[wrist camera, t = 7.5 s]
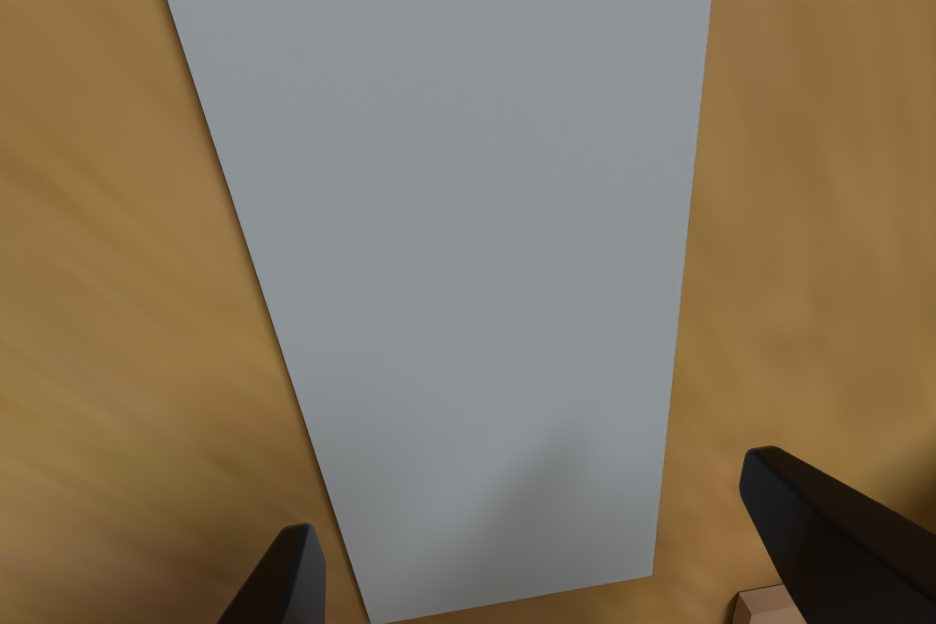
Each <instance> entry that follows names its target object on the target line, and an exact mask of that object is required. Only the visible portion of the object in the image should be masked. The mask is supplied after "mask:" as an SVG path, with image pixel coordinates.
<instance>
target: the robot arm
mask: <svg viewBox="0 0 936 624" xmlns="http://www.w3.org/2000/svg"><path fill="white" fill-rule="evenodd" d="M739 491H740V495H741V498H742V500H743V503H744V505H745V507H746V509H747V511H748V513H749V515H750V517H751V519H752V521H753V523H754V525H755V527H756V529H757V531H758V533H759V535H760V537H761V539H762V542H763V544H764V546H765V548H766V550H767V552H768V554H769V556H770V558H771V560H772V562H773V564H774V566H775V568H776V570H777V572H778V574H779V576H780V578H781V580H782V582H783V584H784V586H785V588H786V590H787V592H788V593H789V595H790V597H791V598H792V600H793V602H794V603H795V605H796V607H797V608H798V610H799V612H800V613H801V615H802V617H803V618H804V620H805V621H806V623H807V624H936V534H935V533H933V532H932V531H930V530H928V529H926V528H924V527H923V526H921V525H919V524H917V523H915V522H913V521H912V520H910V519H908V518H906V517H904V516H902V515H901V514H899V513H897V512H895V511H893V510H892V509H890V508H888V507H886V506H884V505H882V504H881V503H879V502H877V501H875V500H873V499H872V498H870V497H868V496H866V495H864V494H862V493H861V492H859V491H857V490H855V489H853V488H851V487H850V486H848V485H846V484H844V483H842V482H841V481H839V480H837V479H835V478H833V477H831V476H830V475H828V474H826V473H824V472H822V471H820V470H819V469H817V468H815V467H813V466H811V465H810V464H808V463H806V462H804V461H802V460H800V459H799V458H797V457H795V456H793V455H791V454H789V453H788V452H786V451H784V450H782V449H780V448H778V447H776V446H763V447H757V448H752V449H749V450H748V451H747V452H746V454H745V458H744V463H743V468H742V472H741V477H740V482H739ZM325 588H326V564H325V558H324V554H323V551H322V549H321V546H320V543H319V540H318V538H317V535H316V532H315V529H314V527H313V526H312V524H310V523H302V524H296V525H290V526H286V527H284V528H283V529H282V530H281V531H280V533H279V534H278V535H277V537H276V538H275V540H274V541H273V543H272V544H271V545H270V547H269V548H268V550H267V551H266V553H265V554H264V555H263V557H262V558H261V560H260V561H259V563H258V564H257V565H256V567H255V568H254V570H253V571H252V573H251V574H250V575H249V577H248V578H247V580H246V581H245V583H244V584H243V585H242V587H241V588H240V590H239V591H238V593H237V594H236V595H235V597H234V598H233V600H232V601H231V603H230V604H229V605H228V607H227V608H226V610H225V611H224V613H223V614H222V615H221V617H220V618H219V620H218V621H217V623H216V624H325Z"/></svg>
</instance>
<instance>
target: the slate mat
mask: <svg viewBox="0 0 936 624" xmlns="http://www.w3.org/2000/svg"><path fill="white" fill-rule="evenodd" d="M167 1H168V4H169V7H170V10H171V13H172V16H173V19H174V22H175V25H176V28H177V31H178V34H179V37H180V40H181V43H182V46H183V50H184V53H185V56H186V59H187V62H188V65H189V68H190V71H191V74H192V77H193V80H194V83H195V86H196V89H197V92H198V95H199V99H200V102H201V105H202V108H203V111H204V114H205V117H206V120H207V123H208V126H209V129H210V132H211V135H212V138H213V141H214V144H215V148H216V151H217V154H218V157H219V160H220V163H221V166H222V169H223V172H224V175H225V178H226V181H227V184H228V187H229V190H230V193H231V197H232V200H233V203H234V206H235V209H236V212H237V215H238V218H239V221H240V224H241V227H242V230H243V233H244V236H245V239H246V242H247V246H248V249H249V252H250V255H251V258H252V261H253V264H254V267H255V270H256V273H257V276H258V279H259V282H260V285H261V288H262V291H263V294H264V298H265V301H266V304H267V307H268V310H269V313H270V316H271V319H272V322H273V325H274V328H275V331H276V334H277V337H278V340H279V343H280V347H281V350H282V353H283V356H284V359H285V362H286V365H287V368H288V371H289V374H290V377H291V380H292V383H293V386H294V389H295V392H296V396H297V399H298V402H299V405H300V408H301V411H302V414H303V417H304V420H305V423H306V426H307V429H308V432H309V435H310V438H311V441H312V445H313V448H314V451H315V454H316V457H317V460H318V463H319V466H320V469H321V472H322V475H323V478H324V481H325V484H326V487H327V490H328V493H329V497H330V500H331V503H332V506H333V509H334V512H335V515H336V518H337V521H338V524H339V527H340V530H341V533H342V536H343V539H344V542H345V546H346V549H347V552H348V555H349V558H350V561H351V564H352V567H353V570H354V573H355V576H356V579H357V582H358V585H359V588H360V591H361V595H362V598H363V601H364V604H365V607H366V610H367V613H368V616H369V619H370V622H371V624H386V623H391V622H397V621H402V620H408V619H413V618H419V617H425V616H430V615H436V614H441V613H447V612H453V611H458V610H464V609H469V608H475V607H480V606H486V605H492V604H497V603H503V602H508V601H514V600H520V599H525V598H531V597H536V596H542V595H547V594H553V593H559V592H564V591H570V590H575V589H581V588H587V587H592V586H598V585H603V584H609V583H614V582H620V581H626V580H631V579H637V578H642V577H648V576H652V571H653V562H654V552H655V542H656V533H657V523H658V513H659V503H660V494H661V484H662V474H663V465H664V455H665V445H666V436H667V426H668V416H669V406H670V397H671V387H672V377H673V368H674V358H675V348H676V339H677V329H678V319H679V309H680V300H681V290H682V280H683V271H684V261H685V251H686V242H687V232H688V222H689V213H690V203H691V193H692V183H693V174H694V164H695V154H696V145H697V135H698V125H699V116H700V106H701V96H702V86H703V77H704V67H705V57H706V48H707V38H708V28H709V19H710V9H711V0H167Z"/></svg>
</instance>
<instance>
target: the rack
mask: <svg viewBox="0 0 936 624" xmlns="http://www.w3.org/2000/svg"><path fill="white" fill-rule="evenodd" d="M732 624H807V623H806V621H805V620H804V618H803V617H802V615H801V613H800V612H799V610H798V608H797V607H796V605H795V603H794V602H793V600H792V598H791V597H790V595H789V593H788V592H787V590H786V588H785V586H784V585H778V586H773V587H767V588H762V589H756V590H751V591H745V592H740V593H739V595H738V599H737V603H736V607H735V612H734V616H733V620H732Z"/></svg>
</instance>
